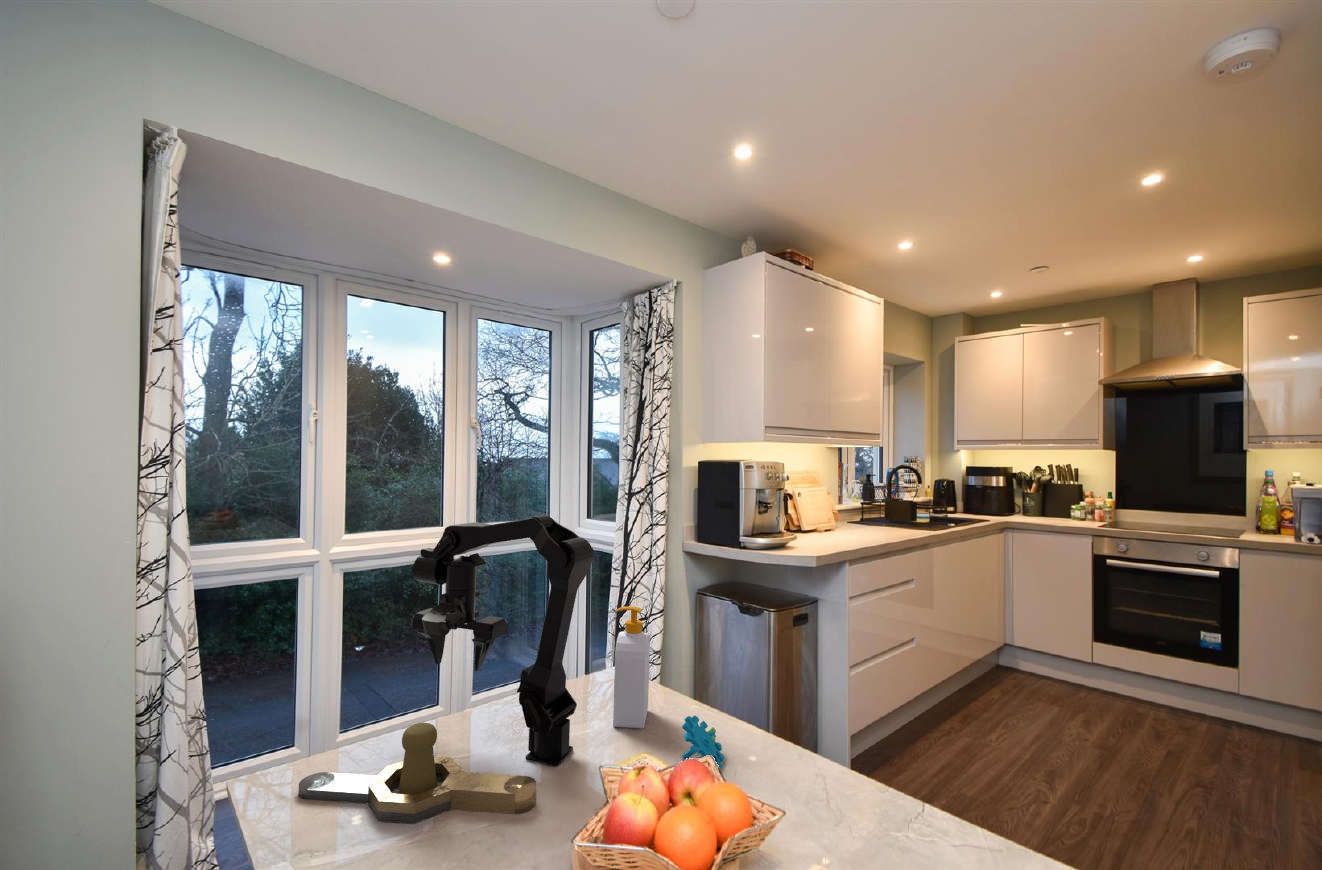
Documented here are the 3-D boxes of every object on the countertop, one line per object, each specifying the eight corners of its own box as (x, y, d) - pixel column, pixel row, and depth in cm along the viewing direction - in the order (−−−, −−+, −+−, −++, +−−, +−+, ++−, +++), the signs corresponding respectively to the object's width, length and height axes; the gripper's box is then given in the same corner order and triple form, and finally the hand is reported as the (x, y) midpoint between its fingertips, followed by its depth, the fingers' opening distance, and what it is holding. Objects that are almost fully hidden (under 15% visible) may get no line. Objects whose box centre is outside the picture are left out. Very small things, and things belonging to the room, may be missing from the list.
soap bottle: (615, 708, 127) (619, 601, 128) (648, 710, 127) (651, 603, 127) (608, 727, 118) (612, 612, 119) (643, 730, 118) (646, 614, 118)
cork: (446, 792, 95) (448, 723, 95) (415, 812, 89) (418, 739, 90) (419, 782, 97) (421, 715, 98) (387, 801, 92) (390, 730, 92)
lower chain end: (472, 777, 99) (473, 768, 99) (439, 826, 86) (439, 815, 86) (327, 767, 101) (327, 758, 101) (272, 814, 88) (272, 804, 88)
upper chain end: (545, 781, 99) (546, 763, 99) (523, 832, 86) (523, 811, 86) (397, 772, 100) (398, 754, 100) (353, 820, 87) (354, 799, 87)
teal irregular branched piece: (714, 774, 99) (679, 720, 104) (689, 794, 101) (656, 740, 105) (735, 754, 109) (703, 706, 113) (712, 773, 110) (681, 724, 115)
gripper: (392, 591, 112) (389, 674, 112) (475, 602, 106) (472, 690, 106) (432, 579, 123) (429, 655, 122) (510, 589, 117) (507, 668, 116)
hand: (457, 667), depth 116 cm, fingers open, 9 cm apart
